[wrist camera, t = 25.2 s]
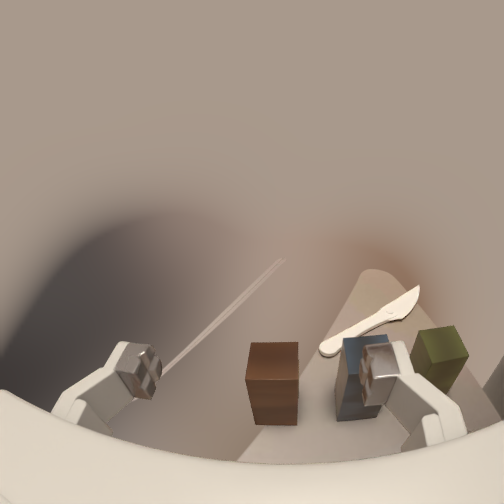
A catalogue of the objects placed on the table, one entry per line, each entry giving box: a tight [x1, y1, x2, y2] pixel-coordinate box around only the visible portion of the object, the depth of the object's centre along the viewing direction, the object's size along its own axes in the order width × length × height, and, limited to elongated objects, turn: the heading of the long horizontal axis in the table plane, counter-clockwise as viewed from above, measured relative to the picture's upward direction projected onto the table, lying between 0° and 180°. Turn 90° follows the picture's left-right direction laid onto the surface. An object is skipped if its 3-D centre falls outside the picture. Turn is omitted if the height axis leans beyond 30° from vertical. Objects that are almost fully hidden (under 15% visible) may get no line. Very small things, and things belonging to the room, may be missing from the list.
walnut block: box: [245, 342, 299, 425], centre depth 30 cm, size 5×5×10 cm
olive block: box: [410, 326, 469, 395], centre depth 27 cm, size 5×5×10 cm
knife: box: [319, 285, 420, 357], centre depth 43 cm, size 26×4×1 cm, turn 115°
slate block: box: [335, 334, 389, 421], centre depth 28 cm, size 5×5×10 cm
